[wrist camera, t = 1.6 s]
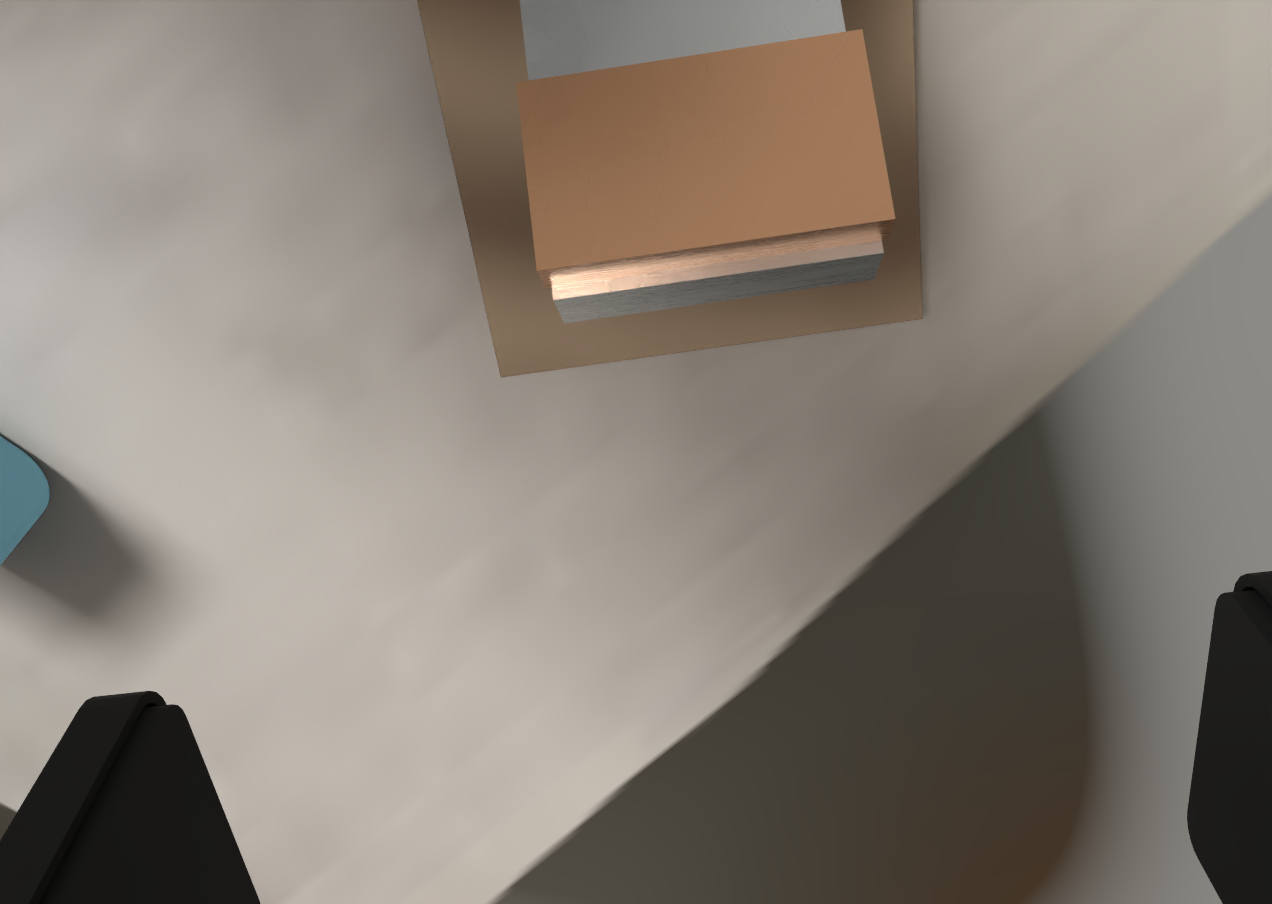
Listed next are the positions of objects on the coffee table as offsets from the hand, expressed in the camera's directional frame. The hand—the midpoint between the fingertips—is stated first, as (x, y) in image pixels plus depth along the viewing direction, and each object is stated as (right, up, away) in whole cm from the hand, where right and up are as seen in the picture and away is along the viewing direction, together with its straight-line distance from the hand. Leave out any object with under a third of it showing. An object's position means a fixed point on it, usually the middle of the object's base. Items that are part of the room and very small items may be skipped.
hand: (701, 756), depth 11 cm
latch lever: (0, +14, +10) cm, 17 cm away
